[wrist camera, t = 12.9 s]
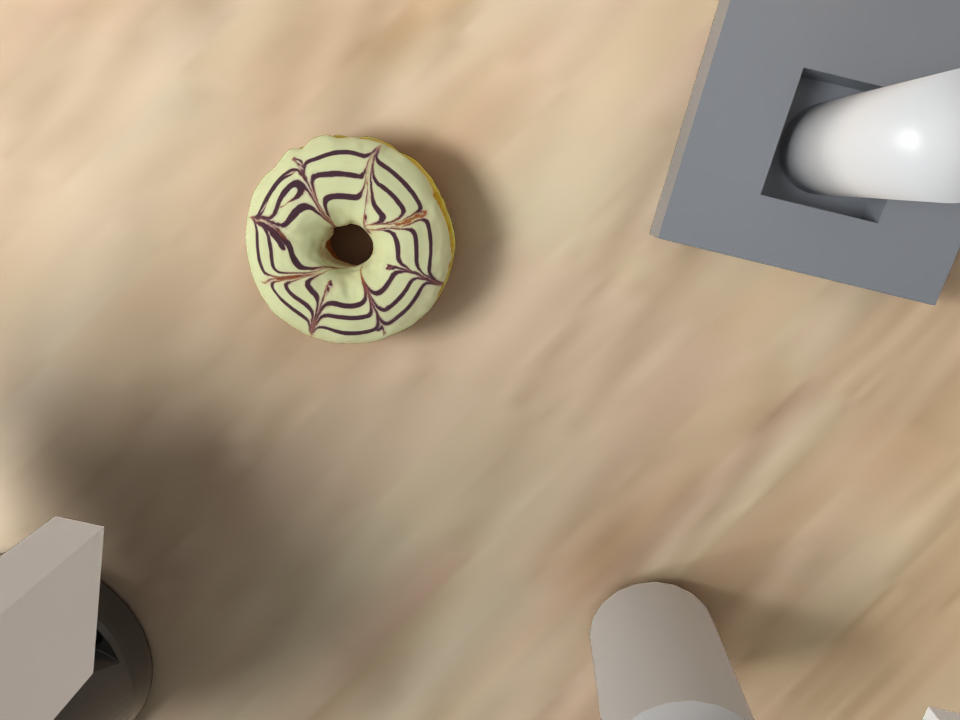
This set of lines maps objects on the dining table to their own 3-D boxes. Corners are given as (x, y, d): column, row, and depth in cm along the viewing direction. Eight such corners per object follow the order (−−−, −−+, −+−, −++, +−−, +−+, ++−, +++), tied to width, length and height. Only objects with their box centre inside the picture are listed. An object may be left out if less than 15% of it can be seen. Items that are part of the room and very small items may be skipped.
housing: (908, 297, 35) (934, 305, 33) (649, 234, 36) (657, 238, 33) (1110, -187, 29) (1159, -218, 27) (798, -261, 30) (820, -299, 27)
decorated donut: (230, 189, 37) (196, 191, 33) (406, 104, 35) (391, 95, 31) (316, 360, 39) (294, 378, 35) (485, 288, 37) (481, 299, 33)
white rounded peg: (766, 183, 34) (874, 186, 23) (797, 91, 33) (927, 51, 22) (851, 203, 34) (999, 216, 23) (886, 113, 33) (1057, 83, 22)
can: (639, 551, 40) (684, 701, 29) (737, 617, 41) (818, 789, 30) (564, 635, 42) (577, 807, 31) (658, 697, 43) (705, 888, 32)
